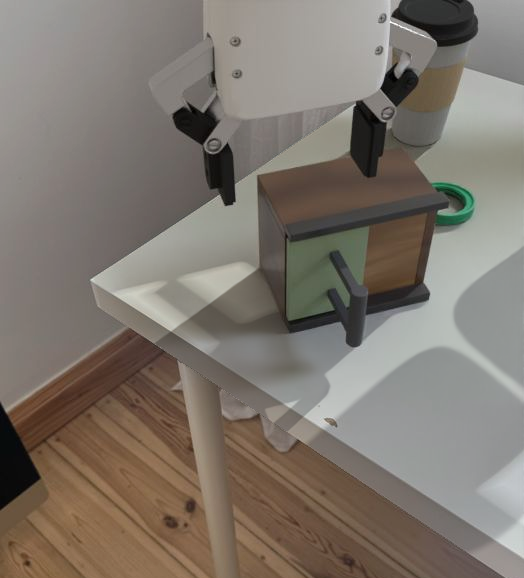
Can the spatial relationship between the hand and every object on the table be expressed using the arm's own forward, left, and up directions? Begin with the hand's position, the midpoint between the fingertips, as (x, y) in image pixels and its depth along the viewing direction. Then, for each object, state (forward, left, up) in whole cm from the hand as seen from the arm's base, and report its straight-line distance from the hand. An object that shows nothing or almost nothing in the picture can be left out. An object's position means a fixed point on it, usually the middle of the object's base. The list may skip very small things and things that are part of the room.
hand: (294, 179), depth 49 cm
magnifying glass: (-19, -18, -20) cm, 33 cm away
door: (-5, -2, -19) cm, 20 cm away
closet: (-8, -10, -20) cm, 24 cm away
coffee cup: (-26, -31, -20) cm, 45 cm away
